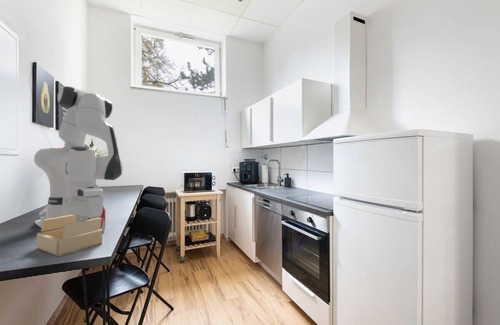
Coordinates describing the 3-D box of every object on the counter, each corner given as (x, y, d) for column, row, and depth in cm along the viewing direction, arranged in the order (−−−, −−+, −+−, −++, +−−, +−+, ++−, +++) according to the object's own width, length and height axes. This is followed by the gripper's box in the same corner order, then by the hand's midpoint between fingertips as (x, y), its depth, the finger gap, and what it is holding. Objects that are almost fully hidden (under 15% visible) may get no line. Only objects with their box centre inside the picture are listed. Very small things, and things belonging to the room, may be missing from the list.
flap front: (62, 237, 78) (64, 224, 78) (99, 229, 89) (101, 217, 88) (63, 238, 78) (65, 225, 77) (100, 229, 88) (101, 217, 88)
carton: (35, 248, 84) (35, 233, 84) (81, 237, 97) (81, 224, 97) (57, 257, 76) (57, 240, 76) (103, 243, 90) (103, 229, 90)
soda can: (84, 236, 99) (84, 208, 99) (88, 231, 105) (89, 205, 105) (103, 234, 102) (103, 207, 102) (106, 230, 108) (106, 204, 108)
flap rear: (77, 224, 96) (80, 214, 95) (41, 231, 85) (43, 220, 84) (77, 223, 96) (79, 213, 95) (41, 231, 85) (43, 219, 85)
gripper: (56, 189, 86) (56, 225, 86) (87, 192, 77) (87, 233, 76) (75, 187, 92) (75, 222, 91) (106, 190, 82) (106, 228, 82)
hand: (81, 227), depth 84 cm, fingers closed
